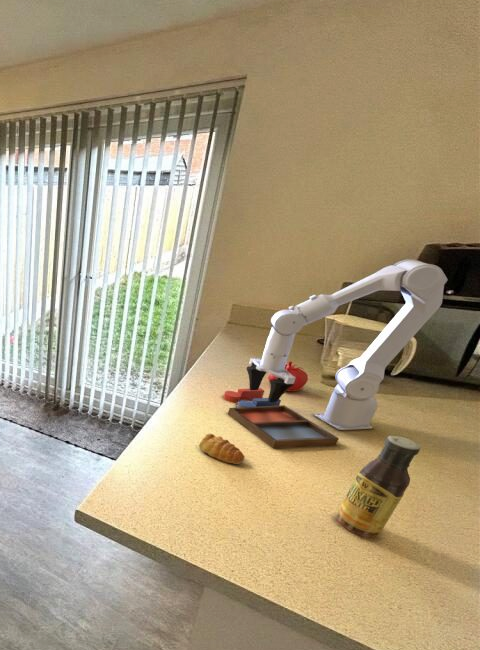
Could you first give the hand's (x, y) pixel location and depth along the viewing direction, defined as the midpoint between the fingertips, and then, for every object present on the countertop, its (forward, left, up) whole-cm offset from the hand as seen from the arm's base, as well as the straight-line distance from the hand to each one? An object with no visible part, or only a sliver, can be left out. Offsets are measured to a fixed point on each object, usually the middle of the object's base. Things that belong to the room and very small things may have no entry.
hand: (262, 395), depth 116 cm
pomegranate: (-18, -12, -5) cm, 22 cm away
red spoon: (+1, -6, -4) cm, 8 cm away
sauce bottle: (+15, +46, -5) cm, 48 cm away
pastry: (+26, +21, -5) cm, 33 cm away
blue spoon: (+1, 0, -4) cm, 4 cm away
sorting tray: (+3, +11, -4) cm, 12 cm away
